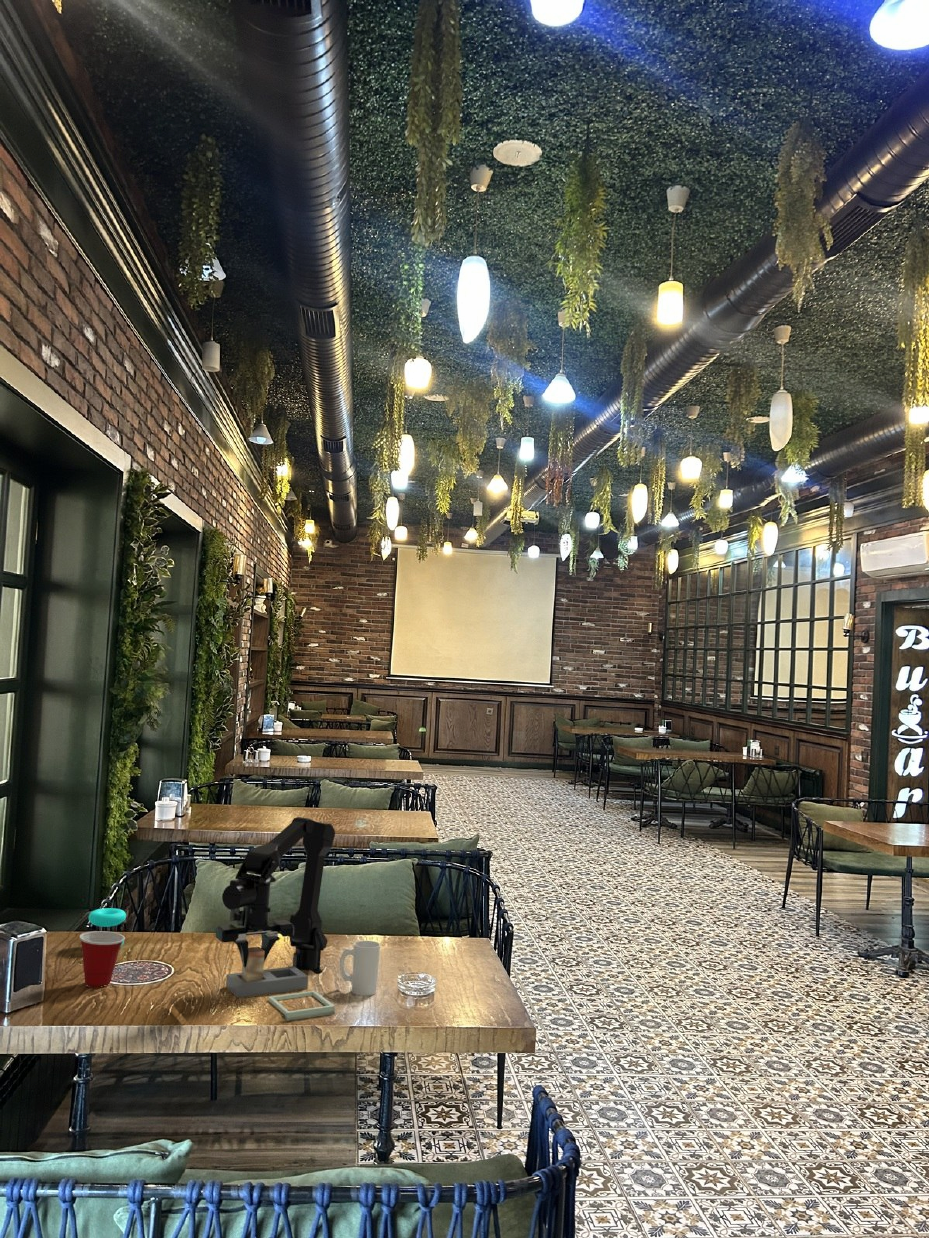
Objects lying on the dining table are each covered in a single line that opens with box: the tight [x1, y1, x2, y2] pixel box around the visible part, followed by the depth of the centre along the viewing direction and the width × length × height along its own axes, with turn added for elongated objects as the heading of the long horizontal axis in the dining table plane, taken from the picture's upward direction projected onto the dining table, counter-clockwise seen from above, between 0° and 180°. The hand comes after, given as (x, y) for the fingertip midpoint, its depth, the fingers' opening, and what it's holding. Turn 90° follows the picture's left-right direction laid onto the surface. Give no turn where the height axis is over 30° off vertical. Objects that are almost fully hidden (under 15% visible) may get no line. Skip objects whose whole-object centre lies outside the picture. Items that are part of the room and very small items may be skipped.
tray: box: [267, 990, 336, 1022], centre depth 224 cm, size 12×12×2 cm
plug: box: [241, 946, 265, 982], centre depth 233 cm, size 4×4×8 cm
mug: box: [339, 940, 381, 997], centre depth 239 cm, size 10×7×12 cm, turn 97°
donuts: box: [87, 907, 127, 947], centre depth 265 cm, size 10×10×10 cm
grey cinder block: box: [225, 965, 309, 999], centre depth 235 cm, size 18×9×4 cm, turn 122°
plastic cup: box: [79, 930, 126, 988], centre depth 233 cm, size 11×11×12 cm
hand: (252, 965), depth 233 cm, fingers closed on plug, 4 cm apart
